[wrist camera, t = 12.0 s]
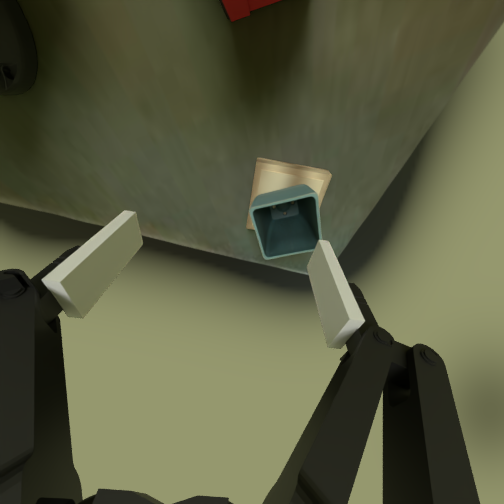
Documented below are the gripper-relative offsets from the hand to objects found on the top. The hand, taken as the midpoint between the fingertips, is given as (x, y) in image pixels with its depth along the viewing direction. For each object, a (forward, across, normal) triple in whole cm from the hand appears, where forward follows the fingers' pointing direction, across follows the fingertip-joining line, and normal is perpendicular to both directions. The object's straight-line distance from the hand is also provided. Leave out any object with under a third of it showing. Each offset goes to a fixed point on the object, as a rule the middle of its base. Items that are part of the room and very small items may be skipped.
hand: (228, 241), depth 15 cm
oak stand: (+24, +8, -5) cm, 25 cm away
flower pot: (+20, +7, -5) cm, 22 cm away
